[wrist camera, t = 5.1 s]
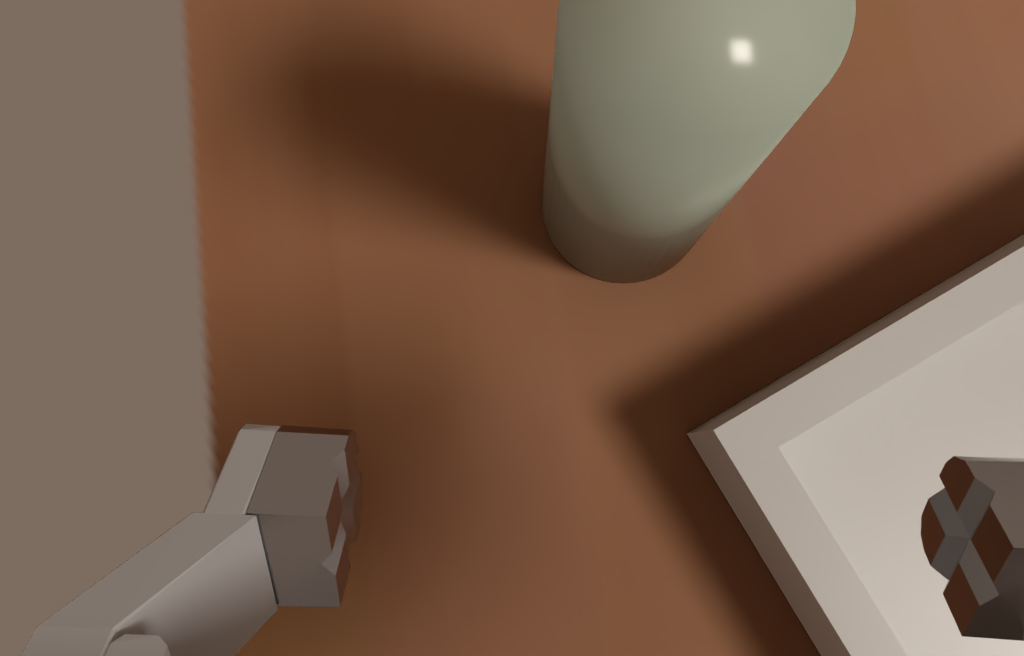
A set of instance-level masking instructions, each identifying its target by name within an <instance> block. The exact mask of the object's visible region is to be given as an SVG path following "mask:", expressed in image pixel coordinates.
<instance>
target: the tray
mask: <svg viewBox="0 0 1024 656" xmlns="http://www.w3.org/2000/svg"><path fill="white" fill-rule="evenodd" d="M687 435H688V437H689V438H690V440H691V442H692V443H693V445H694V447H695V448H696V450H697V451H698V453H699V455H700V456H701V458H702V460H703V461H704V463H705V465H706V466H707V468H708V470H709V471H710V473H711V475H712V476H713V478H714V480H715V481H716V483H717V485H718V486H719V488H720V490H721V491H722V493H723V494H724V496H725V498H726V499H727V501H728V503H729V504H730V506H731V508H732V509H733V511H734V513H735V514H736V516H737V518H738V519H739V521H740V523H741V524H742V526H743V528H744V529H745V531H746V533H747V534H748V536H749V537H750V539H751V541H752V542H753V544H754V546H755V547H756V549H757V551H758V552H759V554H760V556H761V557H762V559H763V561H764V562H765V564H766V566H767V567H768V569H769V571H770V572H771V574H772V576H773V577H774V579H775V580H776V582H777V584H778V585H779V587H780V589H781V590H782V592H783V594H784V595H785V597H786V599H787V600H788V602H789V604H790V605H791V607H792V609H793V610H794V612H795V614H796V615H797V617H798V618H799V620H800V622H801V623H802V625H803V627H804V628H805V630H806V632H807V633H808V635H809V637H810V638H811V640H812V642H813V643H814V645H815V647H816V648H817V650H818V652H819V653H820V655H821V656H1024V641H1019V640H1005V639H992V638H978V637H964V636H962V635H961V633H960V631H959V629H958V626H957V624H956V622H955V620H954V618H953V615H952V613H951V611H950V609H949V606H948V604H947V602H946V600H945V598H944V595H943V591H944V589H945V586H946V584H947V581H948V580H947V579H946V578H945V577H944V576H942V575H941V574H940V573H939V572H937V571H936V570H935V569H934V568H933V567H931V566H930V564H929V561H928V559H927V556H926V554H925V552H924V549H923V544H922V539H921V516H922V513H923V511H924V508H925V506H926V503H927V501H928V498H930V497H931V496H933V495H934V494H936V493H938V492H939V491H941V490H942V489H944V488H945V487H944V485H943V483H942V481H941V479H940V477H939V475H940V473H941V471H942V469H943V467H944V465H945V463H946V462H947V461H948V460H950V459H951V458H952V457H953V456H967V457H996V458H1023V459H1024V234H1023V235H1022V236H1020V237H1018V238H1016V239H1015V240H1013V241H1011V242H1010V243H1008V244H1006V245H1005V246H1003V247H1001V248H1000V249H998V250H996V251H994V252H993V253H991V254H989V255H988V256H986V257H984V258H983V259H981V260H979V261H978V262H976V263H974V264H972V265H971V266H969V267H967V268H966V269H964V270H962V271H961V272H959V273H957V274H956V275H954V276H952V277H950V278H949V279H947V280H945V281H944V282H942V283H940V284H939V285H937V286H935V287H934V288H932V289H930V290H929V291H927V292H925V293H923V294H922V295H920V296H918V297H917V298H915V299H913V300H912V301H910V302H908V303H907V304H905V305H903V306H901V307H900V308H898V309H896V310H895V311H893V312H891V313H890V314H888V315H886V316H885V317H883V318H881V319H879V320H878V321H876V322H874V323H873V324H871V325H869V326H868V327H866V328H864V329H863V330H861V331H859V332H857V333H856V334H854V335H852V336H851V337H849V338H847V339H846V340H844V341H842V342H841V343H839V344H837V345H835V346H834V347H832V348H830V349H829V350H827V351H825V352H824V353H822V354H820V355H819V356H817V357H815V358H813V359H812V360H810V361H808V362H807V363H805V364H803V365H802V366H800V367H798V368H797V369H795V370H793V371H792V372H790V373H788V374H786V375H785V376H783V377H781V378H780V379H778V380H776V381H775V382H773V383H771V384H770V385H768V386H766V387H764V388H763V389H761V390H759V391H758V392H756V393H754V394H753V395H751V396H749V397H748V398H746V399H744V400H742V401H741V402H739V403H737V404H736V405H734V406H732V407H731V408H729V409H727V410H726V411H724V412H722V413H720V414H719V415H717V416H715V417H714V418H712V419H710V420H709V421H707V422H705V423H704V424H702V425H700V426H698V427H697V428H695V429H693V430H692V431H690V432H688V433H687Z"/></svg>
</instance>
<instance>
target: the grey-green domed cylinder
mask: <svg viewBox="0 0 1024 656" xmlns="http://www.w3.org/2000/svg"><path fill="white" fill-rule="evenodd" d="M855 14H856V0H559V9H558V21H557V33H556V44H555V56H554V67H553V79H552V91H551V102H550V114H549V125H548V137H547V148H546V160H545V172H544V183H543V195H542V213H543V219H544V224H545V227H546V230H547V233H548V235H549V237H550V239H551V241H552V243H553V245H554V246H555V247H556V249H557V250H558V252H559V253H560V254H561V255H562V256H563V257H564V258H565V260H566V261H568V262H569V263H570V264H571V265H572V266H574V267H575V268H576V269H578V270H580V271H581V272H583V273H585V274H587V275H589V276H591V277H593V278H596V279H599V280H602V281H607V282H612V283H635V282H640V281H645V280H648V279H651V278H654V277H657V276H659V275H661V274H663V273H665V272H666V271H668V270H669V269H671V268H672V267H674V266H675V265H676V264H677V263H678V262H679V261H680V260H681V259H682V258H683V257H684V256H685V255H686V254H687V253H688V251H689V250H690V249H691V248H692V247H693V245H694V244H695V243H696V242H697V241H698V239H699V238H700V237H701V236H702V235H703V233H704V232H705V231H706V230H707V228H708V227H709V226H710V225H711V224H712V222H713V221H714V220H715V219H716V218H717V216H718V215H719V214H720V213H721V212H722V210H723V209H724V208H725V207H726V206H727V204H728V203H729V202H730V201H731V200H732V198H733V197H734V196H735V195H736V194H737V192H738V191H739V190H740V189H741V188H742V186H743V185H744V184H745V183H746V181H747V180H748V179H749V178H750V177H751V175H752V174H753V173H754V172H755V171H756V169H757V168H758V167H759V166H760V165H761V163H762V162H763V161H764V160H765V159H766V157H767V156H768V155H769V154H770V153H771V151H772V150H773V149H774V148H775V147H776V145H777V144H778V143H779V142H780V141H781V139H782V138H783V137H784V136H785V134H786V133H787V132H788V131H789V130H790V128H791V127H792V126H793V125H794V124H795V122H796V121H797V120H798V119H799V118H800V116H801V115H802V114H803V113H804V112H805V110H806V109H807V108H808V107H809V106H810V104H811V103H812V102H813V101H814V100H815V98H816V97H817V96H818V95H819V94H820V92H821V91H822V90H823V89H824V87H825V86H826V85H827V84H828V83H829V81H830V80H831V79H832V77H833V75H834V74H835V72H836V71H837V69H838V68H839V66H840V64H841V62H842V60H843V58H844V56H845V54H846V51H847V49H848V46H849V43H850V40H851V36H852V33H853V28H854V21H855Z"/></svg>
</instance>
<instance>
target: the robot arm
mask: <svg viewBox="0 0 1024 656" xmlns="http://www.w3.org/2000/svg"><path fill="white" fill-rule="evenodd" d="M357 453H358V445H357V439H356V433H355V432H354V431H353V430H343V429H328V428H314V427H299V426H284V425H282V426H272V425H258V424H245V425H244V426H243V427H242V428H241V429H240V430H239V431H238V433H237V436H236V438H235V440H234V443H233V445H232V447H231V450H230V452H229V454H228V457H227V459H226V461H225V463H224V466H223V468H222V470H221V473H220V475H219V477H218V480H217V482H216V484H215V486H214V489H213V491H212V493H211V496H210V498H209V500H208V503H207V505H206V507H205V510H204V512H203V513H191V514H190V515H188V516H187V517H186V518H184V519H183V520H182V521H180V522H179V523H177V524H176V525H175V526H173V527H172V528H171V529H169V530H168V531H166V532H165V533H164V534H163V535H161V536H160V537H158V538H157V539H156V540H154V541H153V542H151V543H150V544H149V545H148V546H146V547H145V548H143V549H142V550H141V551H139V552H138V553H136V554H135V555H134V556H133V557H131V558H130V559H128V560H127V561H126V562H124V563H123V564H121V565H120V566H119V567H117V568H116V569H115V570H113V571H112V572H111V573H109V574H108V575H107V576H105V577H104V578H102V579H101V580H100V581H98V582H97V583H96V584H94V585H93V586H91V587H90V588H89V589H87V590H86V591H85V592H84V593H82V594H81V595H79V596H78V597H77V598H75V599H74V600H72V601H71V602H70V603H68V604H67V605H66V606H64V607H63V608H62V609H60V610H59V611H57V612H56V613H55V614H53V615H52V616H51V617H49V618H48V619H47V620H45V621H44V622H43V623H41V624H40V625H38V626H37V627H36V629H35V631H34V633H33V635H32V636H31V638H30V640H29V642H28V643H27V645H26V647H25V649H24V650H23V653H22V654H21V656H235V655H236V654H237V653H238V652H239V651H240V650H241V649H242V648H243V646H244V645H245V644H246V643H247V642H248V641H249V640H250V639H251V638H252V637H253V636H254V635H255V634H256V632H257V631H258V630H259V629H260V628H261V627H262V626H263V625H264V624H265V623H266V622H267V621H268V620H269V618H270V617H271V616H272V615H273V614H274V613H275V612H276V611H277V610H278V609H277V606H308V607H340V606H341V602H342V598H343V594H344V590H345V585H346V581H347V577H348V573H349V569H350V561H349V554H348V546H350V545H351V544H352V543H353V542H354V541H355V540H356V539H357V534H358V529H359V525H360V518H361V509H362V479H361V473H360V472H359V471H358V470H357V469H356V468H355V467H354V465H355V461H356V457H357ZM939 477H940V479H941V481H942V483H943V485H944V487H945V488H944V489H942V490H941V491H939V492H938V493H936V494H934V495H933V496H931V497H930V498H928V501H927V503H926V506H925V508H924V511H923V513H922V516H921V539H922V544H923V549H924V552H925V554H926V556H927V559H928V561H929V564H930V566H931V567H933V568H934V569H935V570H936V571H937V572H939V573H940V574H941V575H942V576H944V577H945V578H946V579H947V580H948V581H947V584H946V586H945V589H944V591H943V595H944V598H945V600H946V602H947V604H948V606H949V609H950V611H951V613H952V615H953V618H954V620H955V622H956V624H957V626H958V629H959V631H960V633H961V635H962V636H964V637H978V638H992V639H1005V640H1019V641H1024V459H1023V458H996V457H967V456H953V457H952V458H951V459H950V460H948V461H947V462H946V463H945V465H944V467H943V469H942V471H941V473H940V475H939Z"/></svg>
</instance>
